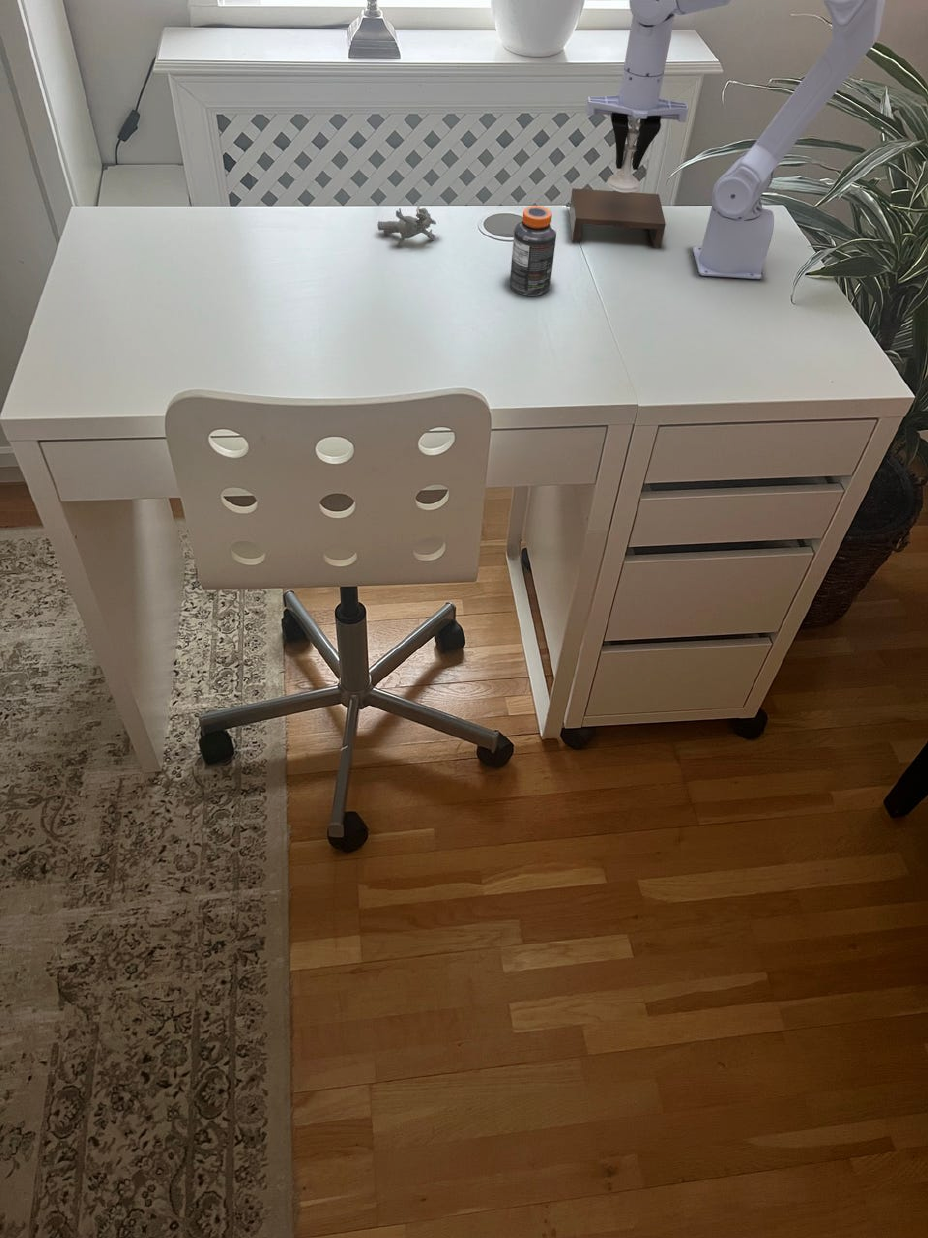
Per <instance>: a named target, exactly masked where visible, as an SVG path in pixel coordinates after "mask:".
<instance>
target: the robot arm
mask: <svg viewBox="0 0 928 1238" xmlns="http://www.w3.org/2000/svg"><path fill="white" fill-rule="evenodd" d="M731 1H732V0H629V1H628V2H629V3H628V4H629V10H630V12H631V15H632V17H631V25H630V30H629V35H628V41H627V45H626V46H627V47H626V53H625V58H624V65H623V71H622V77H621V81H620V82H621V83H620V90H619V94H615V95H614V94H613V95H603V96H602V95H601V96H587V99H586V107H585V114H586V116H588V117H594V116H595V115H602V116H609V117H610V121H611V126H612V130H613V134H614V135H613V136H614V141H615V167H616V170H621V168H622V164H623V161H624V156H625V150H624V147H625V144H627V134H628V130H629V129H630V126H629V121H630V119H629V117H630V118H631V117H632V118H633V119H634V118H638V119H639V123H641V126H640V127H638V130H639V131H640V135H639V137H638V138H637V140H636V142H635V146H636V147H637V151H635V152H633V154H632V161H631V167H632V170H633V171H638V170H639V167H640V165H641V162H642V160H643V158H644V155H645V153H646V152H647V149H648V148H649V147H650V145H651V143H652V142H653V141H654V139H655V138H656V137H657V135H658V134H659V133H660V130H661V128H662V123H661V122H662V120H676V121H678V122H679V123H680V122H681V123H686V122H687V119H688V118H687V117H688V114H689V106H688V103H687V102H680V101H673V100H669V99H663V98H660V96H661V90H662V85H663V80H664V74H665V70H666V64H667V60H668V54H669V50H670V49H669V48H670V44H671V39H672V31H673V26H674V21H675V15H678V16H684V15H689V14H693V13H698V12H701V11H702V12H703V11H707V10H711V9H715V8H719V7H724V6H727V5H728V4H729V3H730V2H731ZM822 2H823V4H824V6H825V8H826V10H827V12H828V13H829V16H830V18H831V28H832V34H833V35H832V36H833V38H832V41H830V43H829V44H828V46H827V47H826V48H825V49H824V51H823V52H822V54H821V55H820V56H819V58H817V60H816V62H815V63H814V64H813V66H812V67H811V68H810V69H809V71H808V72H807V73H806V75H805V76H804V77H803V79H802V80H801V82H799V84H798V85H797V87H796V88H795V89H794V90H793V92H792V94H791V95H790V96H789V97H788V99H787V100H786V101H785V102H784V104H783V105H782V107H780V109H779V110H778V112H777V113H776V115H774V117H773V119H772V120H771V121H770V122H769V124H768V125H767V127H765V129H764V131H763V132H762V133H761V134H760V136H759V137H758V138H757V139H756V141H755V142H754V144H752V146H751V147H750V149H749V150H747V151H745V152H743V153H742V154H740V155H739V156H738V157H737V158H736V159H735V161H733V164H732V165H731V166H730V167H729V168H728V170H727V171H726V172H724V174H723V175H721V176H720V177H719V178H718V179H717V180H716V182H715V184H714V185H713V189H712V194H711V198H712V205H711V209H710V213H709V217H708V220H707V224H706V228H705V232H704V235H703V240H702V244H701V246H694V247H693V248H692V252H693V255H694V256H693V257H694V260H695V264H696V267H697V271H698V274H699V275H700V276H706V277H718V278H719V277H720V278H721V277H722V278H734V279H735V278H736V279H737V278H738V279H751V280H760V279H762V271H763V268H764V265H765V261H766V258H767V255H768V252H769V248H770V245H771V242H772V238H773V235H774V227H775V214H774V212H773V210H771V209H769V208H764V207H763V202H762V198H761V196H762V195H763V194H764V193H765V192H766V191H767V190H768V189H769V188H770V186H771V184H772V182H773V179H774V175H775V171H776V169H777V167H778V166H779V165H780V163H781V162H782V160H783V159H784V158H785V157H786V156H787V154H788V153H789V152H790V150H791V149H792V148H793V147H794V146H795V144H796V143H797V142H798V141H799V139H801V137H802V135H803V134H804V133H805V131H806V130H807V129H808V128H809V127H810V125H811V124H812V123H813V122H814V121H815V119H816V118H817V117H818V115H819V114H820V113H821V111H822V110H823V109H824V108H825V106H827V104H828V103H829V102H830V100H831V99H832V98H833V97H834V95H835V94H836V93H837V91H838V90H839V89H840V87H841V86H842V85H843V84H844V83H845V81H846V80H847V79H848V78H849V76H850V75H851V74H852V73H853V71H854V70H855V69H856V67H857V66H858V65H859V63H860V62H861V61H862V60H863V58H865V56H866V55H867V54H868V52H869V51H870V50H871V48H873V46H874V45H875V43H876V41H877V40H878V38H879V36H880V32H881V27H882V21H883V16H884V10H885V5H886V0H822Z"/></svg>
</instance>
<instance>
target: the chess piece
mask: <svg viewBox="0 0 928 1238" xmlns="http://www.w3.org/2000/svg"><path fill="white" fill-rule="evenodd" d="M638 119H639V118H634V117H633V120H632V119H629V121H628V125H631V126H632V127H631V128H630V127H629V130H628V134H627V138H626V143H625V147H624V152H625V153H624V156H623V164H622V168H621V169H619V171H618V172H617V173H613V174H611V175H610V176H608V178H607V181H606V186H607V187H608V188H609V189H611V190H612V191H618V192H623V193H630V192H634V193H635V192H636V191H638V190H639V187H640V181H639V180H638V178H637V177H635V176H633V174H632V161H633V153H634V152H635V151H637V147H636V143H637V138H638V137H639V135H640V131H639V129H637V128H639V127H640V126H641V123H640V121H638Z"/></svg>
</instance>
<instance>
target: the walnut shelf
mask: <svg viewBox="0 0 928 1238" xmlns="http://www.w3.org/2000/svg"><path fill="white" fill-rule="evenodd" d="M568 213H569V215H568V216H569V225H570V234H571V242H572V243H575V244H580V243H581V236H582V231H583V225H585V226H600V227H614V228H630V229H647V230H649V235H650V238H651V242H652V248H654V249H661V248H662V244H663V239H664V235H665V230H666V225H667V221H666V218H665V213H664V210H663V205H662V202H661V197H660V194H659V193H648V192H635V191H634V192H630V193H623V192H618V191H615V190H605V189H604V190H603V189H601V190H600V189H588V188H572V189H571V196H570V204H569V209H568Z"/></svg>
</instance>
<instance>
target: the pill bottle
mask: <svg viewBox="0 0 928 1238" xmlns="http://www.w3.org/2000/svg"><path fill="white" fill-rule="evenodd" d="M556 239H557V231H556V228H555V226H554V225H553V224H552V211H551V210H550V209H549V208H547V207H545V206H541V205H530V206H527V207H525V208H524V209H523V211H522V218H521V221H519V222H518V223H517V224H516V226H515V227H514V232H513V241H512V242H513V243H512V253H511V263H510V264H511V265H510V276H509V285H510V288H511V289H512V290H513V291H515V292H516V293H518V294H521V295H524V296H540V295H543V294H545V293H547V292H548V291H549V289H550V288H551V279H552V274H553V273H552V271H553V265H554V256H555V247H556Z"/></svg>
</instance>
